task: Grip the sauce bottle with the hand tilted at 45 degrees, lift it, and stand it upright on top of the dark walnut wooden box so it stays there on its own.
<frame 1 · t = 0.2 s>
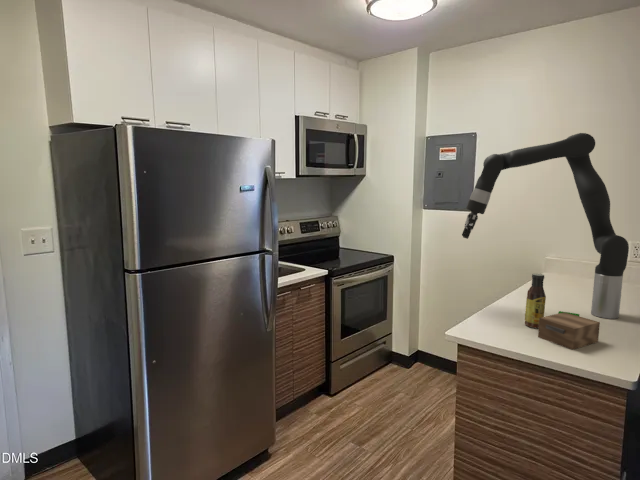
hand: (464, 237, 171), 31 cm above the countertop, tool tilted 20°, fingers open, 8 cm apart
sauce bottle: (533, 326, 150), on the countertop
walnut box: (567, 339, 137), on the countertop
dish sponge: (567, 323, 155), on the countertop
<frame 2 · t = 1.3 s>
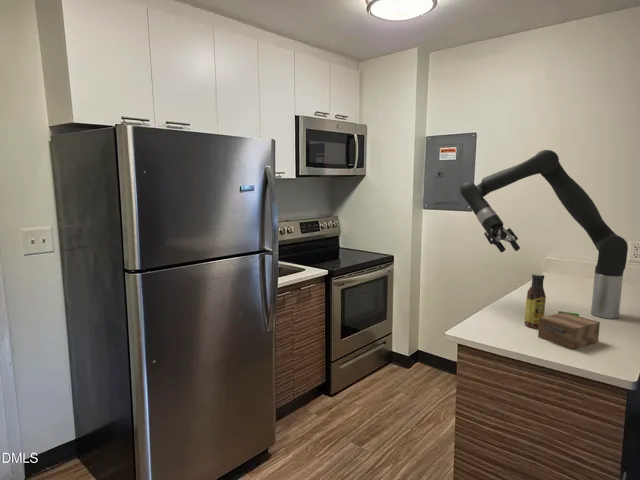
hand: (510, 250, 161), 26 cm above the countertop, tool tilted 45°, fingers open, 8 cm apart
nothing on the countertop moved.
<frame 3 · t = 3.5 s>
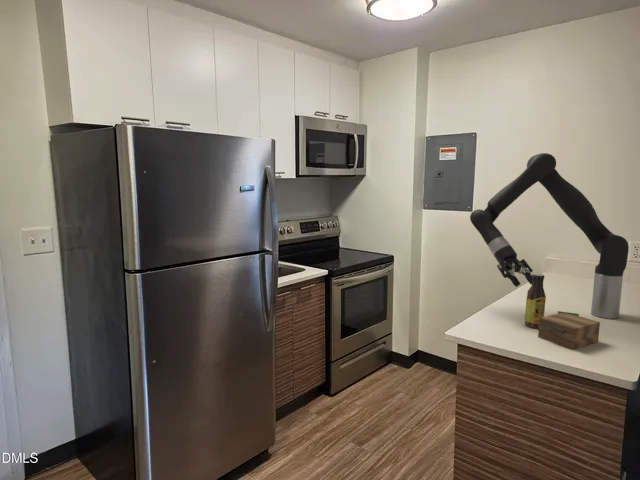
hand: (525, 284, 152), 15 cm above the countertop, tool tilted 45°, fingers open, 8 cm apart
nothing on the countertop moved.
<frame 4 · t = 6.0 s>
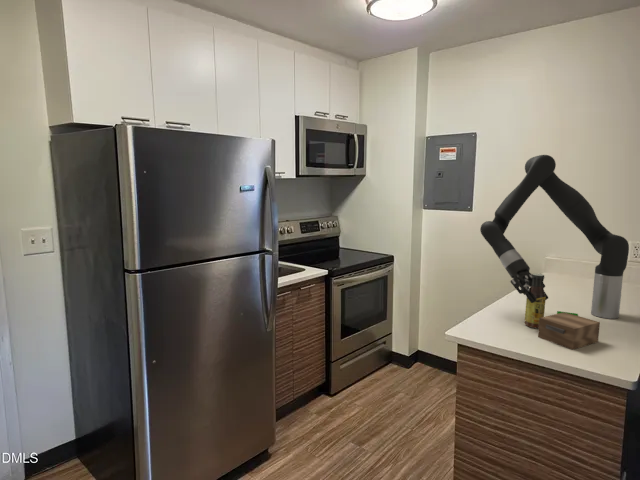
hand: (540, 300, 147), 10 cm above the countertop, tool tilted 45°, fingers closed on sauce bottle, 6 cm apart
sauce bottle: (533, 326, 150), on the countertop, touching gripper
everything else where it was.
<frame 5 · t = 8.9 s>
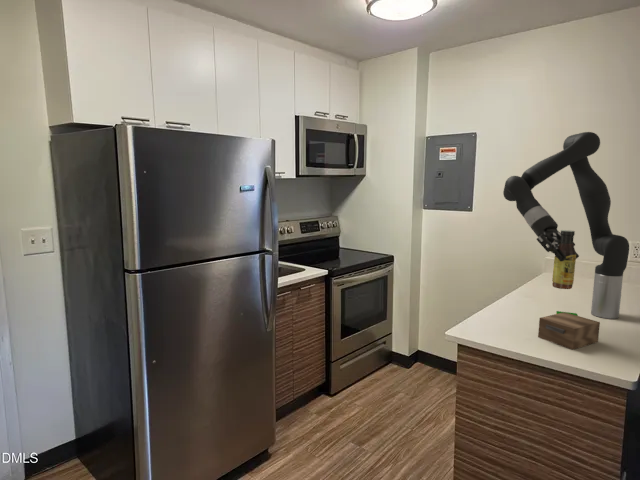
hand: (570, 259, 135), 28 cm above the countertop, tool tilted 45°, fingers closed on sauce bottle, 6 cm apart
sauce bottle: (562, 288, 138), point 17 cm above the countertop, touching gripper
everything else where it was.
when the fingers open (19 cm above the countertop, at t = 11.9 s): sauce bottle drops 1 cm, resting on walnut box.
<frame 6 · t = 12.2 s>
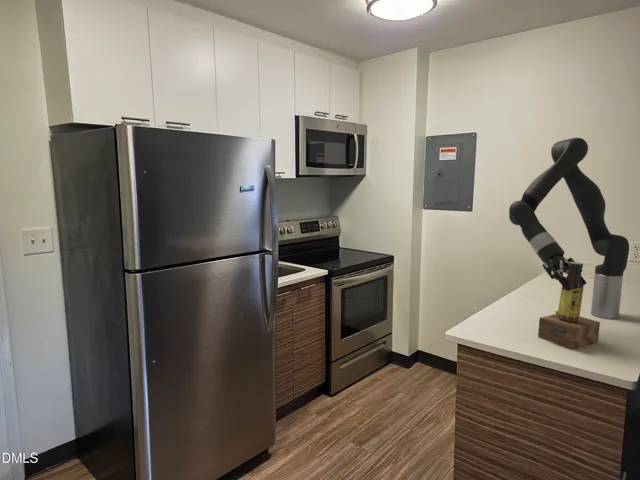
hand: (576, 286, 133), 19 cm above the countertop, tool tilted 45°, fingers open, 8 cm apart
sauce bottle: (568, 320, 136), point 7 cm above the countertop, touching walnut box
everything else where it was.
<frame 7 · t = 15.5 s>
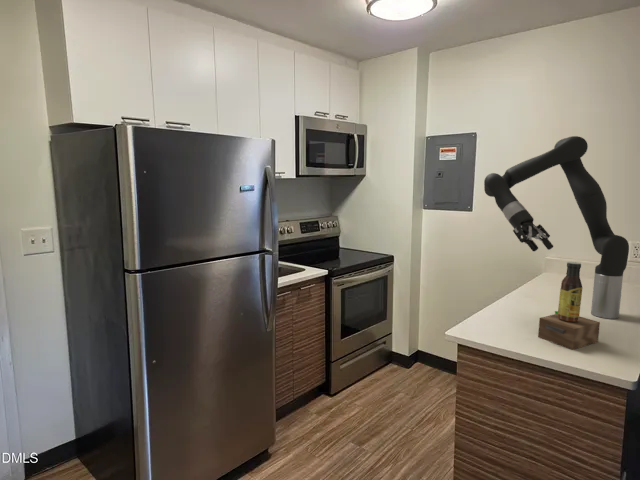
hand: (543, 249, 144), 30 cm above the countertop, tool tilted 45°, fingers open, 8 cm apart
nothing on the countertop moved.
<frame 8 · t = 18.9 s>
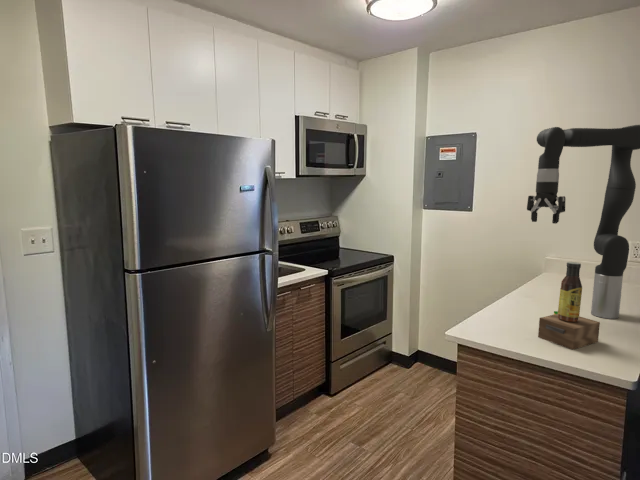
hand: (544, 222, 157), 38 cm above the countertop, tool pointing down, fingers open, 8 cm apart
at the end: sauce bottle inside the target area on the walnut box (0.4 cm from its centre), point 6.8 cm above the walnut box's base; sauce bottle tilted 0°; the gripper is holding nothing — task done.
